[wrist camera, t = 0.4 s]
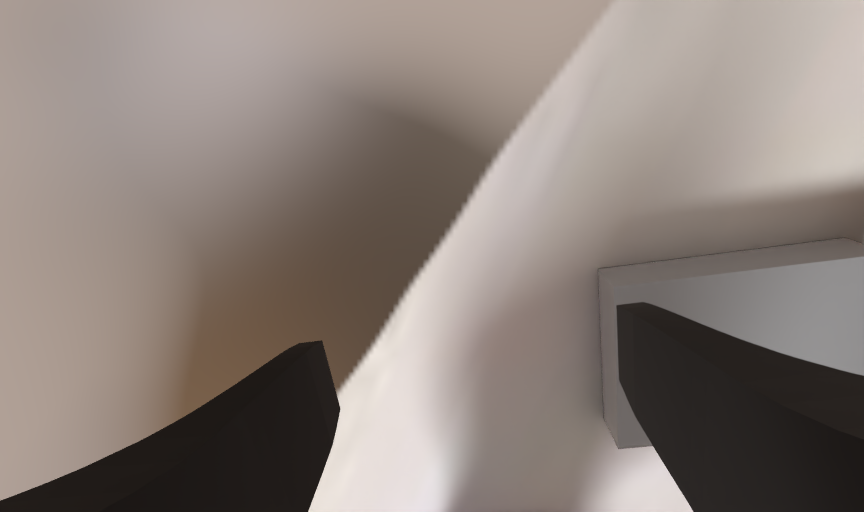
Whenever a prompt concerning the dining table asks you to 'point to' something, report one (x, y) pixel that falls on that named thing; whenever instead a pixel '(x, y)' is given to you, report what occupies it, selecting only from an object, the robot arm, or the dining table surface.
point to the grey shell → (743, 308)
